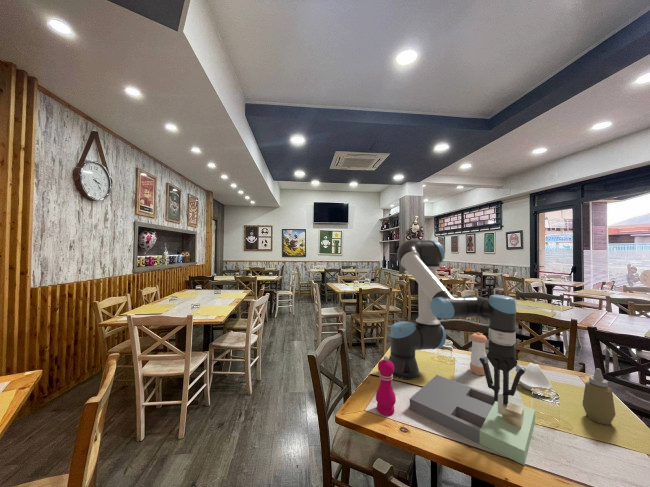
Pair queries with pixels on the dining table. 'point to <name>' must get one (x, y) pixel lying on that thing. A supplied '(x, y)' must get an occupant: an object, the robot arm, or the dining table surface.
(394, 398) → the pepper mill
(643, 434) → the dining table surface
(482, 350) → the salt shaker
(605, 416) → the squeeze bottle
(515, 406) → the birch block
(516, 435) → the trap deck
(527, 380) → the spoon rest
